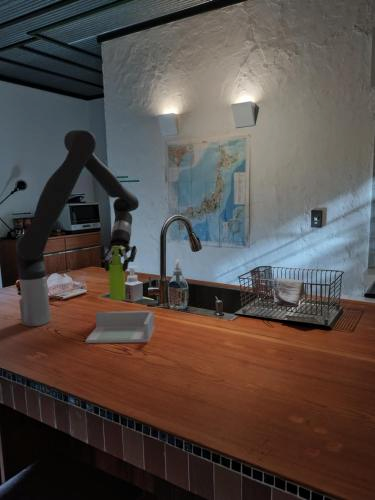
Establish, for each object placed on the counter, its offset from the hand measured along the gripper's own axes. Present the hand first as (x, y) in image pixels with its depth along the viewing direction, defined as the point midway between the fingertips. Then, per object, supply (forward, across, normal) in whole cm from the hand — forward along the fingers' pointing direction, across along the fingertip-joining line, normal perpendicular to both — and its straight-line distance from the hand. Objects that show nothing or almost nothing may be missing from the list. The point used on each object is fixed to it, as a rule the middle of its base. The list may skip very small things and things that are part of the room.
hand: (115, 270), depth 143 cm
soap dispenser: (+7, 0, +9) cm, 12 cm away
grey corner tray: (+25, +5, +1) cm, 26 cm away
